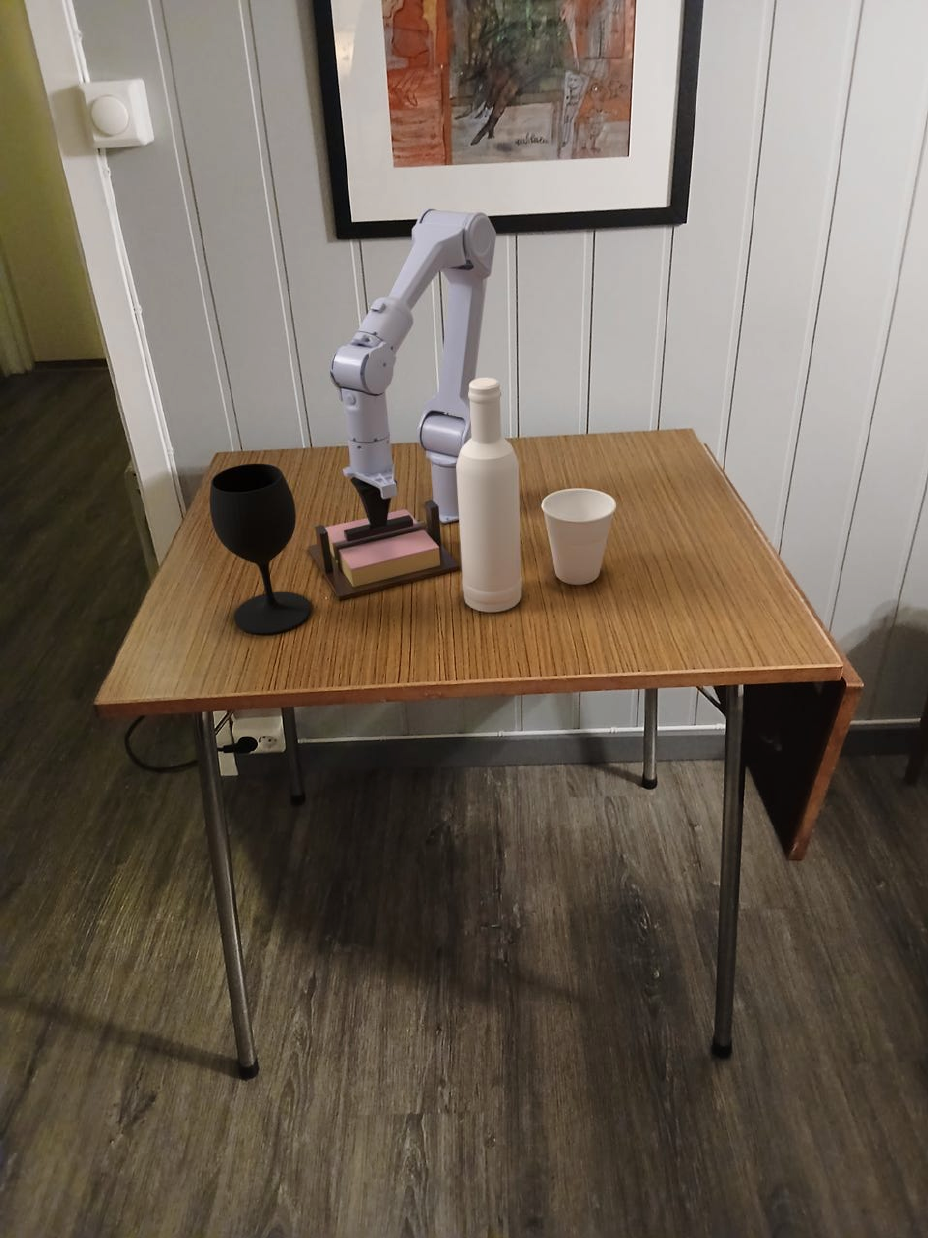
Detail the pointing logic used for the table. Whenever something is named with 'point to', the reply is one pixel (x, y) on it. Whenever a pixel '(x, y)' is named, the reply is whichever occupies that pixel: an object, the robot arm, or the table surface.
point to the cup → (578, 532)
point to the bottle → (489, 506)
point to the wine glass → (258, 540)
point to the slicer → (346, 590)
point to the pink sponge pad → (384, 553)
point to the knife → (377, 533)
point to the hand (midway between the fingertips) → (378, 524)
